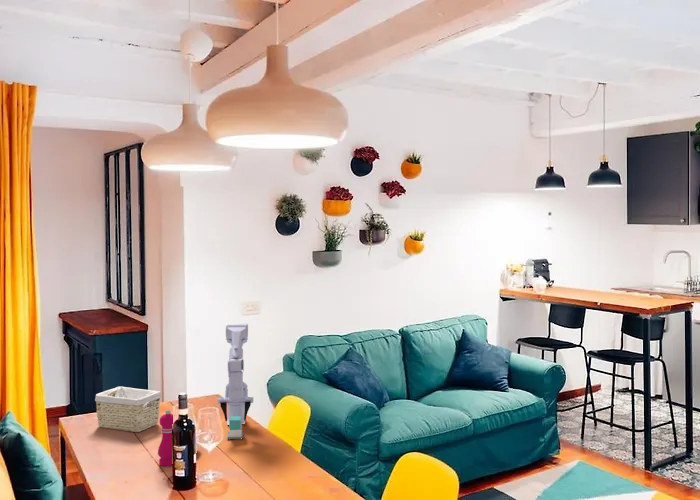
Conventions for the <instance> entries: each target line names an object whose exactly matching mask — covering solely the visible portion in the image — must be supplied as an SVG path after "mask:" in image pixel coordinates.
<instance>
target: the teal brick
mask: <svg viewBox="0 0 700 500" xmlns="http://www.w3.org/2000/svg"><path fill="white" fill-rule="evenodd" d="M228 427H229V429H228V431H229V430H241V416H230V420H229V426H228Z"/></svg>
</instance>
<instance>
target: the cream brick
mask: <svg viewBox="0 0 700 500" xmlns="http://www.w3.org/2000/svg"><path fill="white" fill-rule="evenodd" d="M242 429H243V425H241V430H229V429H228V432H229V437H242V431H243V430H242Z"/></svg>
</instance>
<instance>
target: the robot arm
mask: <svg viewBox="0 0 700 500" xmlns="http://www.w3.org/2000/svg"><path fill="white" fill-rule="evenodd" d="M248 338H249V324H248V323H226V324H225V340H226V342H227V343H228V344H230V346H231V347H230V348H229V354H228V360H227V374H228V383H227V384H226V385H225V392H224V393H225V395H224V397H218V398H217V404H218V405H219V406H220V409H221V410H222V413H223V415H224V420H225V422H226V425H229V420H230V416H241V424H242V423H244V422H245V420H247V415H248V412H249V410H250V407H251V405H252V404H254V397H253V396H248V395H249V393H248V392H249V391H248V390H249V389H248V384H247V383H246V382H244V379H243V377H244V375H243V373H244V370H245V360H244V349H243V346H244V344H246V343H247V342H248V340H249V339H248ZM227 412H228V413H227Z"/></svg>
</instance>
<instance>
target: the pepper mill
mask: <svg viewBox="0 0 700 500" xmlns="http://www.w3.org/2000/svg"><path fill="white" fill-rule="evenodd" d="M173 415H174V414H172V413H171V410H170V409H167V410H165V414H162V415H161V416H160V417H159V425H160V426H161V428H160V432H161V435H162V436H161V441H160V444H159V446H158V448H157V455H158V457H159V460H158V461H159V462H158V464H159V465H160V466H161V467H172V466H173V465H172V424H173Z"/></svg>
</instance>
